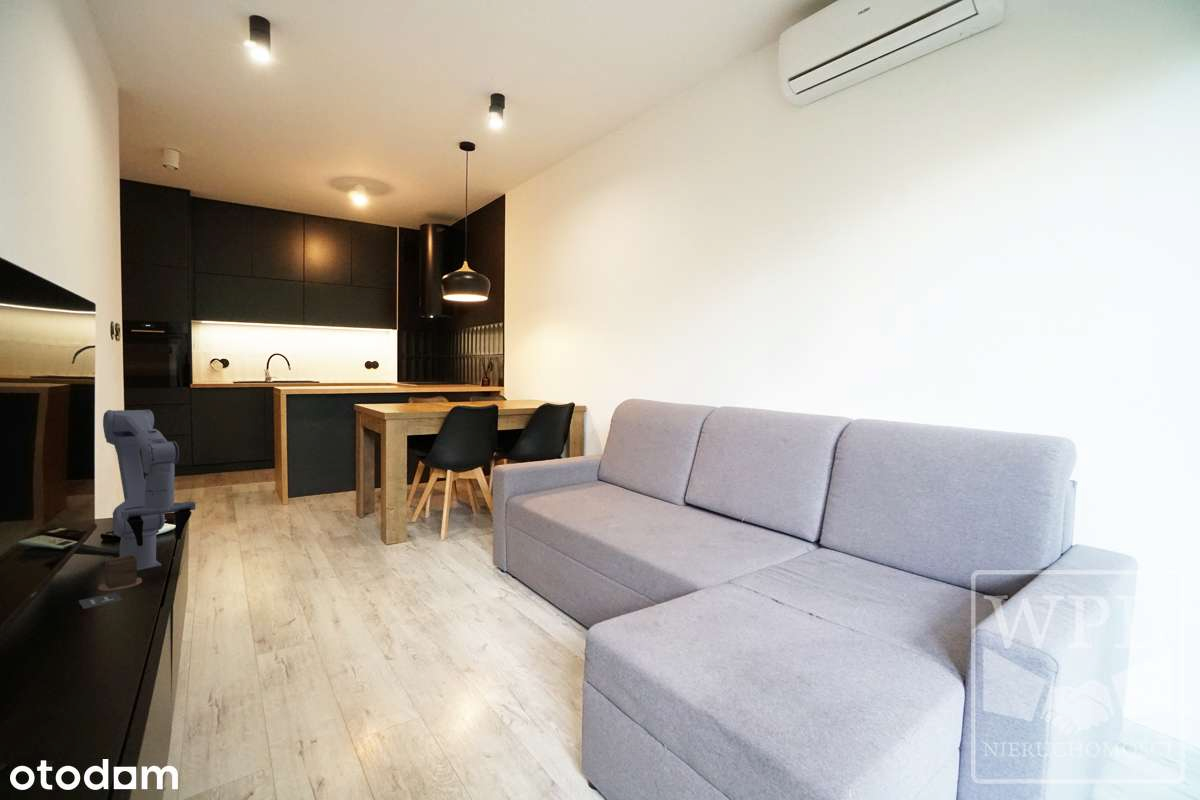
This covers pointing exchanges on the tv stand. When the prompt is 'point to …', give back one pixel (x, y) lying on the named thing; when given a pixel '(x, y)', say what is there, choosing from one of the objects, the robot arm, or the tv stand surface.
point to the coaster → (105, 588)
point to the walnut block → (120, 571)
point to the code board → (99, 600)
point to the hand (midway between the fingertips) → (159, 541)
